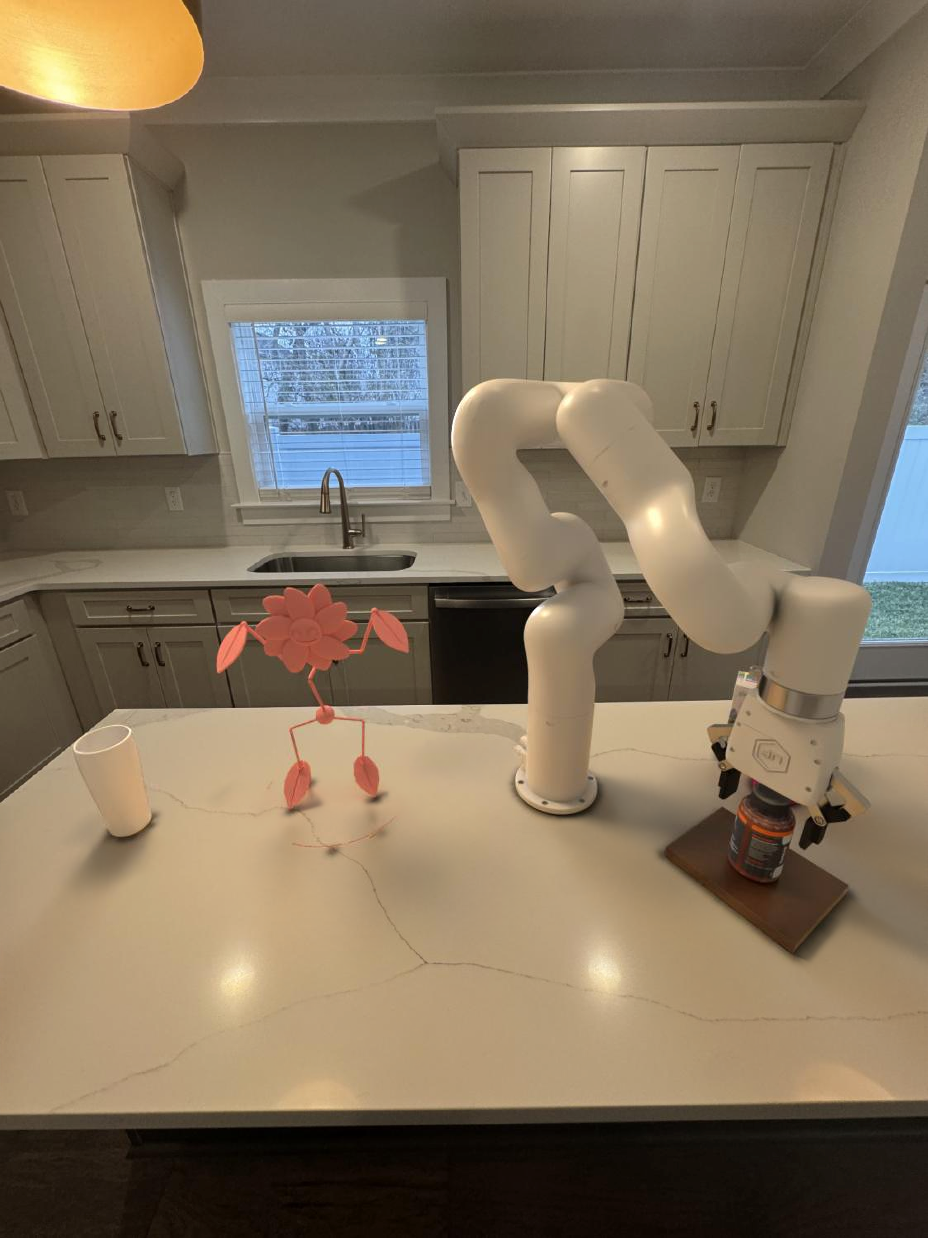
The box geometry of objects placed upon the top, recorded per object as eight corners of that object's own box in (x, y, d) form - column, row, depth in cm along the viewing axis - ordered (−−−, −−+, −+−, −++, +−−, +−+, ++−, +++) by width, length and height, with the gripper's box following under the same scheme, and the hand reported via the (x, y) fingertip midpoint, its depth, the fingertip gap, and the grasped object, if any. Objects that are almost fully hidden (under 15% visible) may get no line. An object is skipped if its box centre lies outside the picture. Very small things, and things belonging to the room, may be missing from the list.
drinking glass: (168, 816, 75) (142, 731, 69) (123, 849, 69) (91, 759, 64) (138, 803, 78) (111, 719, 72) (93, 834, 72) (59, 746, 66)
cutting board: (664, 855, 67) (665, 846, 66) (720, 814, 74) (722, 806, 73) (791, 954, 55) (795, 944, 54) (845, 894, 61) (849, 885, 61)
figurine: (255, 784, 81) (210, 575, 68) (416, 770, 84) (403, 565, 71) (225, 862, 67) (161, 617, 54) (420, 842, 70) (405, 603, 57)
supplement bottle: (791, 885, 61) (814, 811, 56) (740, 885, 61) (760, 812, 56) (764, 846, 66) (783, 776, 62) (718, 846, 66) (734, 776, 62)
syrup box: (760, 751, 87) (778, 676, 81) (757, 770, 82) (776, 693, 77) (723, 741, 90) (739, 668, 84) (718, 759, 85) (734, 683, 80)
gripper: (703, 670, 59) (681, 789, 65) (881, 745, 46) (831, 884, 52) (739, 654, 63) (715, 767, 69) (912, 718, 49) (862, 851, 56)
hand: (765, 817), depth 61 cm, fingers open, 9 cm apart
